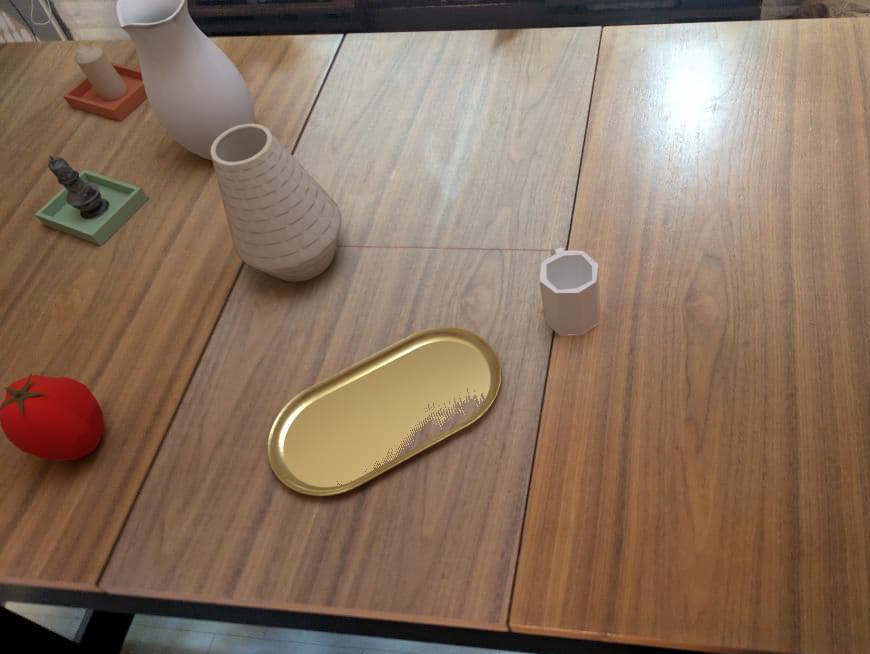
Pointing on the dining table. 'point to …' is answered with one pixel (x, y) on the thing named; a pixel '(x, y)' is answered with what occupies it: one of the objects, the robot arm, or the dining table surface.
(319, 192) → the vase
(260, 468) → the dining table surface
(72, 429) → the tomato
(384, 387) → the serving platter
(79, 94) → the terracotta tray
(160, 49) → the pitcher
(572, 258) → the mug
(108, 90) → the candle
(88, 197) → the dark grey figurine
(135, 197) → the green tray
